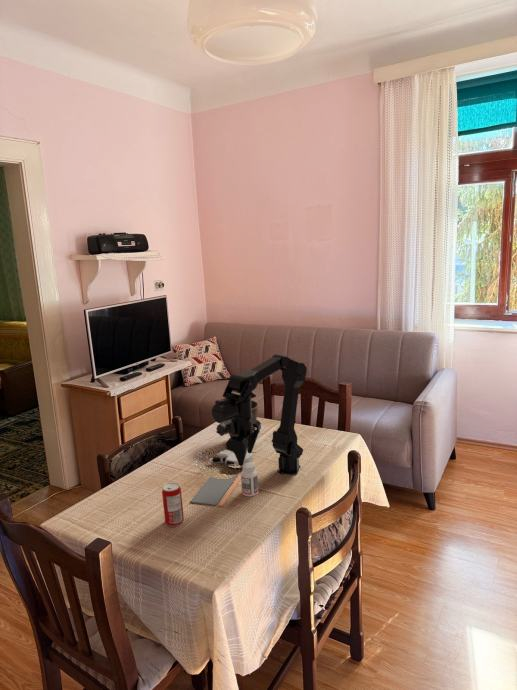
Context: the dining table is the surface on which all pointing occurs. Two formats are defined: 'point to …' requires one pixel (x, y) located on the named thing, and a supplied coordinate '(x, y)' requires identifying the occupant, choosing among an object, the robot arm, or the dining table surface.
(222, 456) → the robot toy
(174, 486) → the soda can
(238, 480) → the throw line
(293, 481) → the dining table surface
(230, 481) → the mat
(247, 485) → the pill bottle
